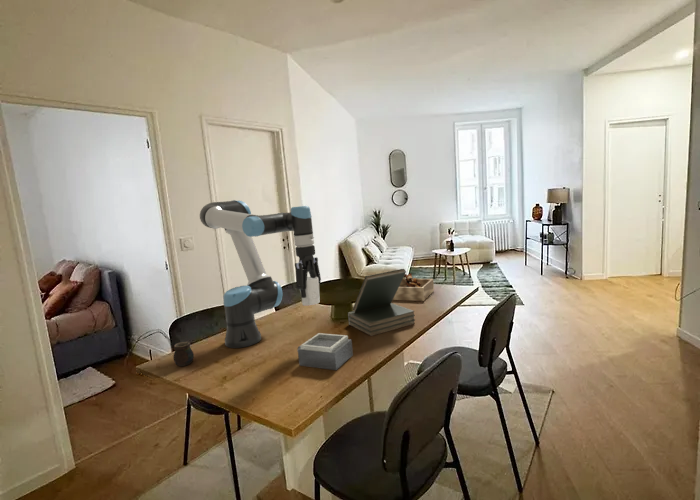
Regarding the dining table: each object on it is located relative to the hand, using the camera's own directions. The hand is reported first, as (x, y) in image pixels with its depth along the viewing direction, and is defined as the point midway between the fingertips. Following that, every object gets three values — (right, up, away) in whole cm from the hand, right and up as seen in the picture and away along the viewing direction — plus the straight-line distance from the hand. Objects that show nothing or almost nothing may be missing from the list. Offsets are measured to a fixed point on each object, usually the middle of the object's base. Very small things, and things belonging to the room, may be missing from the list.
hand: (311, 302), depth 157 cm
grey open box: (+5, -19, -13) cm, 24 cm away
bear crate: (+50, -5, +65) cm, 82 cm away
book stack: (+30, -13, +20) cm, 38 cm away
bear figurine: (+52, -5, +65) cm, 83 cm away
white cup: (0, -1, 0) cm, 1 cm away
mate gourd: (-48, -23, -6) cm, 53 cm away
